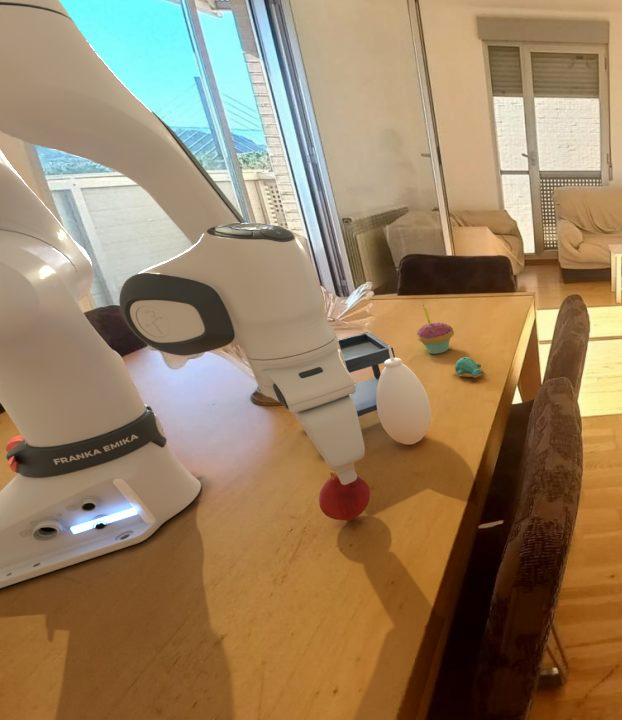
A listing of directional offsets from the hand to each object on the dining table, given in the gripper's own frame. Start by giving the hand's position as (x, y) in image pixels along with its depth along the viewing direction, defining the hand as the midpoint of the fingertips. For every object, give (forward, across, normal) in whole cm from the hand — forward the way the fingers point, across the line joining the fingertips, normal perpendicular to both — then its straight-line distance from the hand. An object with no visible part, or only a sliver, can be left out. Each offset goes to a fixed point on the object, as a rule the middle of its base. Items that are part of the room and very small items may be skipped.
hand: (337, 464), depth 61 cm
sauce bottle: (+10, -14, +13) cm, 21 cm away
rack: (+9, -26, +8) cm, 28 cm away
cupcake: (+10, -51, +35) cm, 63 cm away
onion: (+9, 0, 0) cm, 9 cm away
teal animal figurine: (+10, -31, +33) cm, 46 cm away
